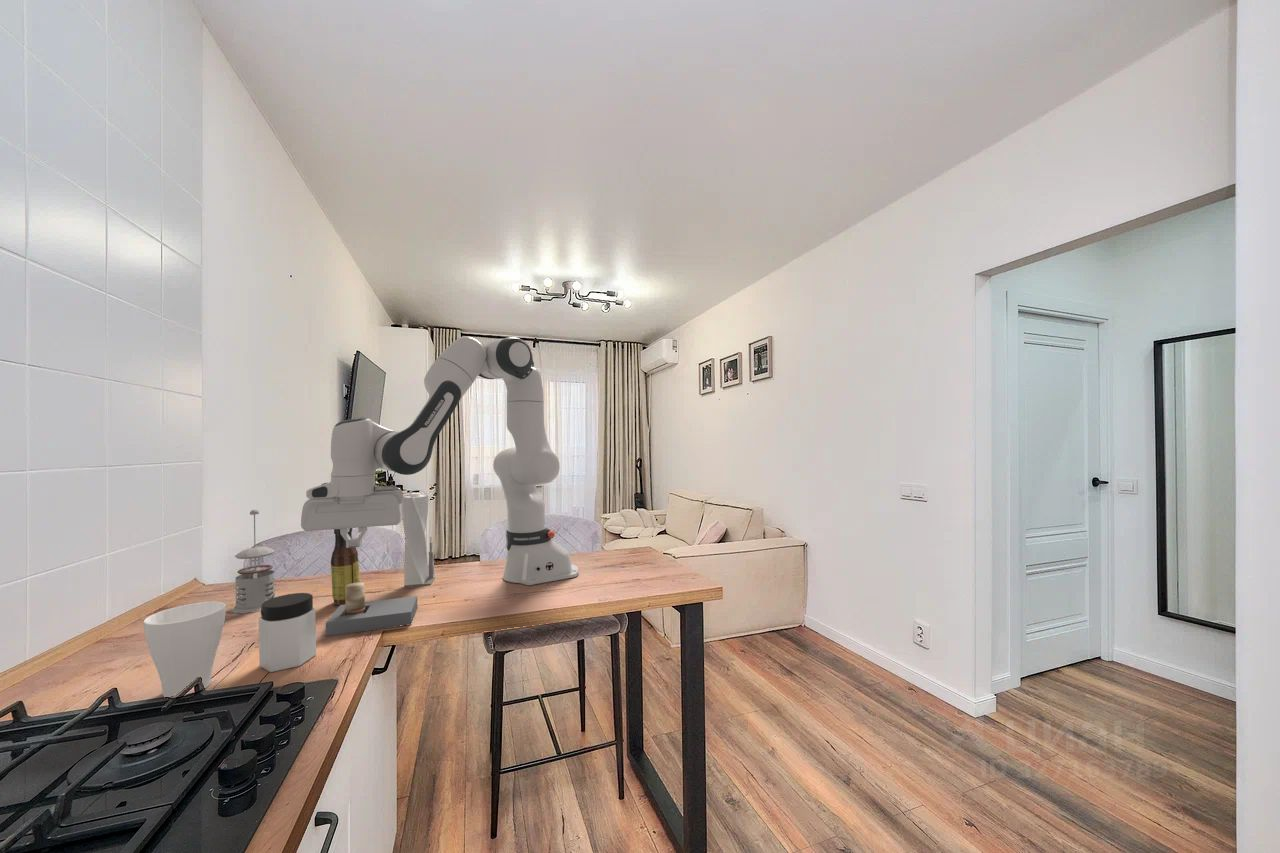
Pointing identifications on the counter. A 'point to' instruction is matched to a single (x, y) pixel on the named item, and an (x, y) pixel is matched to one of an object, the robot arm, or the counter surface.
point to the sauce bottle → (343, 567)
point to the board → (373, 616)
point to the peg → (355, 598)
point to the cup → (185, 643)
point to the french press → (254, 579)
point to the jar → (287, 631)
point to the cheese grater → (416, 540)
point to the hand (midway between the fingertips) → (354, 546)
